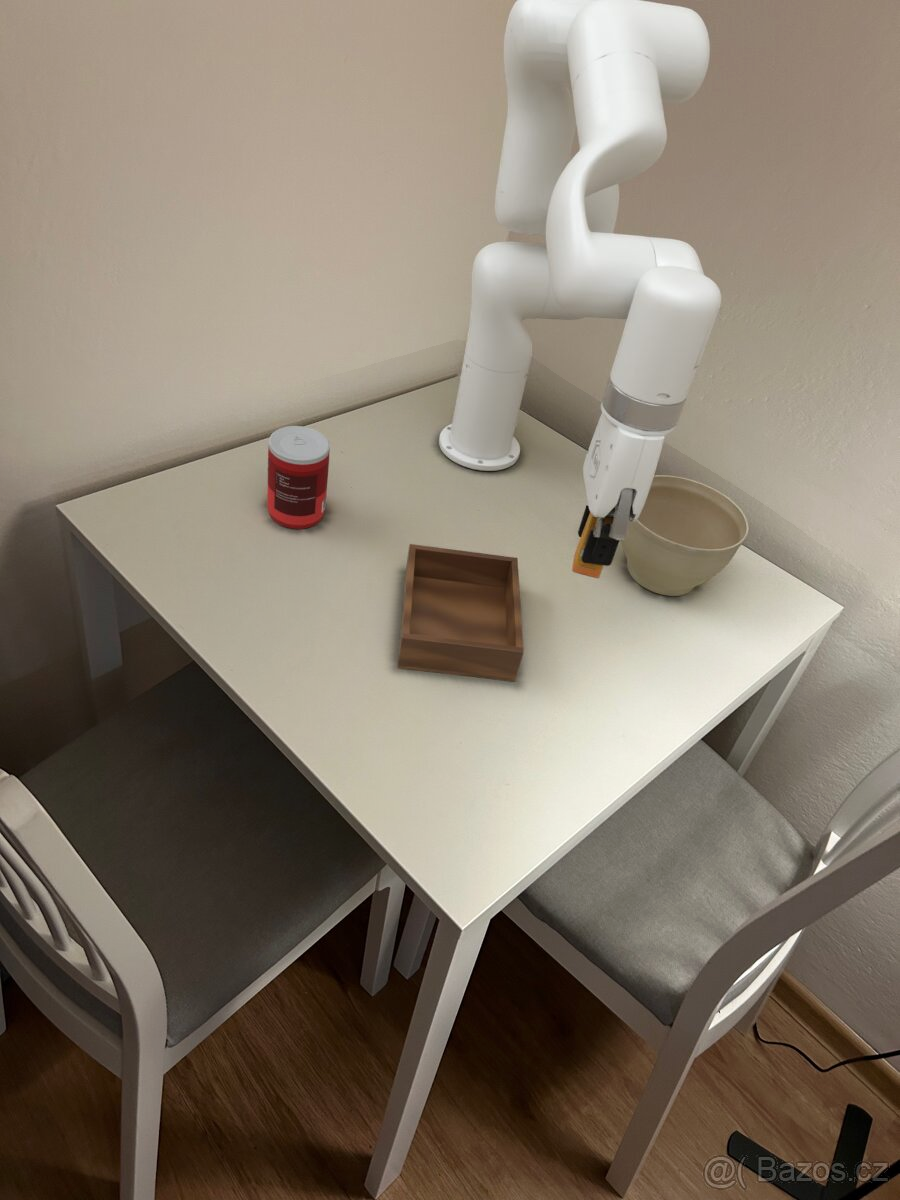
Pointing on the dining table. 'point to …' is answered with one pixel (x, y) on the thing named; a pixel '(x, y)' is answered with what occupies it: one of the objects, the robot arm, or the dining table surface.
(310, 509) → the canned food
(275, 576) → the dining table surface
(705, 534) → the planter bowl
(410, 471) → the dining table surface
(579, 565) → the supplement box
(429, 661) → the wooden tray
